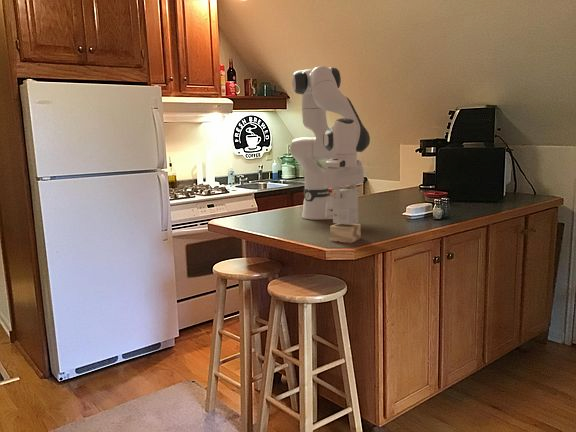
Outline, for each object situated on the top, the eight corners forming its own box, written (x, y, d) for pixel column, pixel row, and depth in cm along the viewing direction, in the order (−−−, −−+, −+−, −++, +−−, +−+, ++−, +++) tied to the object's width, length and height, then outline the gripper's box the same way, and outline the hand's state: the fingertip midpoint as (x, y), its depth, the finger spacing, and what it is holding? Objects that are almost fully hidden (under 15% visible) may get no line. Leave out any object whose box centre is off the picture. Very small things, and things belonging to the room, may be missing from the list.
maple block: (340, 236, 212) (340, 222, 211) (360, 238, 208) (360, 224, 207) (330, 241, 205) (330, 226, 204) (351, 243, 200) (351, 228, 199)
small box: (358, 222, 204) (358, 189, 202) (348, 225, 200) (348, 191, 198) (342, 220, 210) (341, 188, 208) (332, 223, 205) (331, 190, 203)
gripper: (354, 159, 210) (354, 193, 213) (322, 162, 196) (322, 199, 198) (367, 160, 206) (367, 194, 209) (335, 163, 192) (335, 200, 194)
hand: (345, 197), depth 203 cm, fingers closed on small box, 6 cm apart
